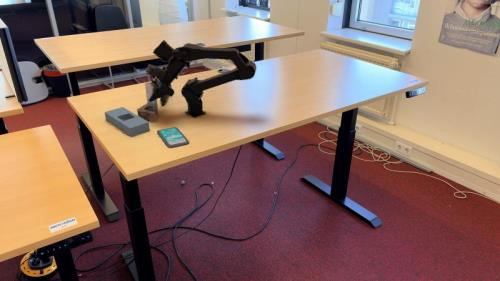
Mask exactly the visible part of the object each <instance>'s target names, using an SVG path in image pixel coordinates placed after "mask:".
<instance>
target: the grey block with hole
mask: <svg viewBox="0 0 500 281" xmlns="http://www.w3.org/2000/svg"><path fill="white" fill-rule="evenodd" d="M104 117H105V121H107V122H108V123H110V124H111V125H113V126H114V127H116V128H117V129H119V130H120V131H122V132H123V133H125V134H127V135H128V136H130V137H135V136H137V135H140V134H144V133H146V132H149V131H150V130H151V128H150V122H148V121H146V120H144V119H143V118H141V117H139V116H138V114H136V113H134V112H133V111H131V110H128V109H127V108H125V107H124V106H122V107H121V106H120V107H117V108H115V109H110V110H108V111H107V110H106V111H104Z"/></svg>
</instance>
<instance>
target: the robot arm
mask: <svg viewBox="0 0 500 281" xmlns="http://www.w3.org/2000/svg"><path fill="white" fill-rule="evenodd" d="M152 54H154V55H155V56H156V57H157V58H158V59H160V60H161V61H162V62H167V63H168V64H167V65H166V66H165V65H164V66H162V67H159V66H156V65H153V64H150V63H148V65H147V68H146V71H145V72H146V74H147V75H149V76H150V81H151V82H154V83H155V91H154V92H153V94H152V95H151V97H150V99H149V101H150V102H152V101H154V100H156V99H157V100H158V99H160V98H161V97H163V96H166V95H169V96H168V97H170V98H172V97H173V96H174V95H175V90H174V88H173V87H172V86H173V85H172V83H173V82H174V81H175V80H178V78H179V74H181V72H182V71H183V70H184V69H185V68H188V69H191V65H190V64H191V62H192V61H197V60H203V59H207V60H208V59H209V60H225V61H226V60H230V62H232V63H233V64H234V66H235V68H233V69H230V70H227V71H226V72H221V73H219V74H216V75H213V76H210V77H207V78H204V79H198V76H195V77H194V78H191V79H188V80H187V81H186V83H184V85H183V86H182V88H181V90H180V92H181V95H182V97H184V99H185V101H186V103H187V110H186V111H184V113H185V114H186V115H189V116H190V117H192V118H197V117H199V116H203V115H206V114H207V112H206V111H204V109H203V108H204V106H203V105H204V104H203V99H202V97H203V95H204V91H207V90H210V89H213V88H216V87H219V86H221V85H225V84H228V83H231V82H234V81H247V80H251V79H253V78H254V77H255V75H256V72H257V65H256V63H255V62H254V61H253V60H250V59H249V58H248V57H247V56H246V55H244V54H243V53H242V52H241V51H240V50H239V49H237V48H235V47H233V48H227V47H226V48H225V47H224V48H223V47H206V46H201V45H198V44H195V43H194V44H193V43H189V42H188V43H187V42H186V43H185V44H184V45H182V46H179V47H175V48H173V47H172V46H171V45H170V44H169V43H168V42H167V41H166V40H165V39H163V40H162V41H161V42H160V43H159V45H158V46H156V47H155V49H154V50H153V51H152ZM171 87H172V88H171ZM145 97H146V98H147V96H145Z"/></svg>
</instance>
